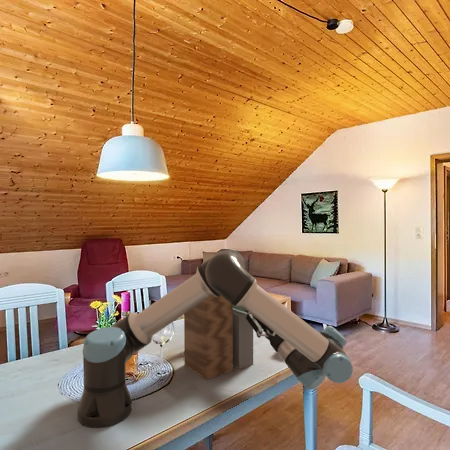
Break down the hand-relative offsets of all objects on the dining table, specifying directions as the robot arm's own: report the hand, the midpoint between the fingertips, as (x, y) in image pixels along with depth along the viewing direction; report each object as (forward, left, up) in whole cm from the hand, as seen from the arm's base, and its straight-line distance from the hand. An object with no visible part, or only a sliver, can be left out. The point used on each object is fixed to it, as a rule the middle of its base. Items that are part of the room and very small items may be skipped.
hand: (246, 299), depth 134 cm
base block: (0, +6, -26) cm, 27 cm away
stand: (-12, +8, -26) cm, 30 cm away
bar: (0, +3, -4) cm, 6 cm away
